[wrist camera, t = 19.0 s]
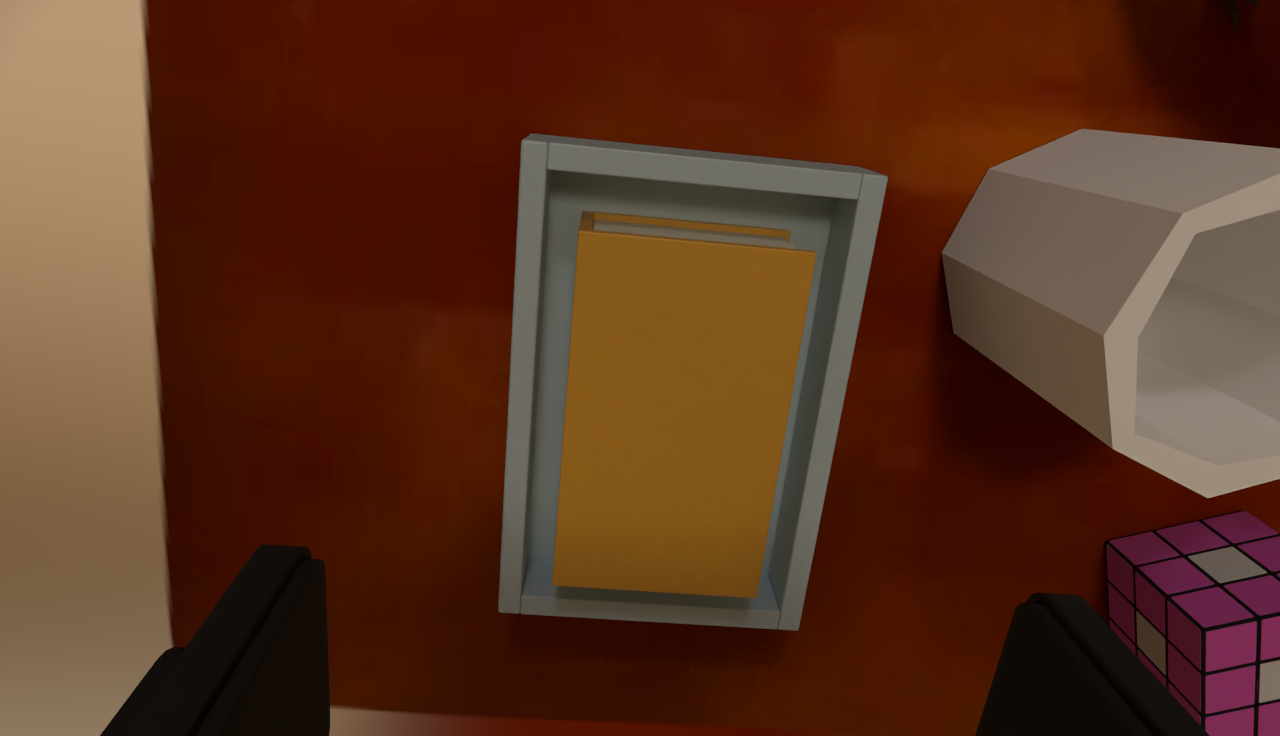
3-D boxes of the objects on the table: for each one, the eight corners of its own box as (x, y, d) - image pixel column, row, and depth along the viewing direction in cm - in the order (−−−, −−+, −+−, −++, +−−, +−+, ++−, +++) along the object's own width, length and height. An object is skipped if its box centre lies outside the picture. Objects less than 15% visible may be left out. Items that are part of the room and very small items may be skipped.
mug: (919, 363, 30) (1060, 490, 20) (968, 119, 27) (1158, 139, 18) (1229, 381, 30) (1501, 513, 21) (1309, 146, 28) (1664, 180, 18)
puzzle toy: (1243, 623, 34) (1361, 724, 29) (1109, 652, 34) (1202, 757, 29) (1246, 508, 32) (1373, 593, 27) (1104, 539, 33) (1202, 630, 27)
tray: (507, 566, 32) (497, 613, 29) (530, 133, 26) (521, 139, 24) (782, 584, 33) (798, 631, 30) (859, 166, 27) (888, 176, 24)
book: (582, 210, 27) (578, 230, 23) (788, 229, 27) (817, 253, 24) (558, 524, 31) (551, 586, 27) (739, 536, 31) (756, 599, 28)
